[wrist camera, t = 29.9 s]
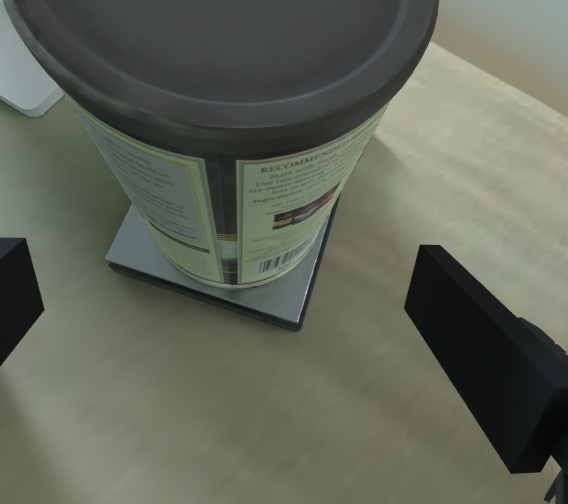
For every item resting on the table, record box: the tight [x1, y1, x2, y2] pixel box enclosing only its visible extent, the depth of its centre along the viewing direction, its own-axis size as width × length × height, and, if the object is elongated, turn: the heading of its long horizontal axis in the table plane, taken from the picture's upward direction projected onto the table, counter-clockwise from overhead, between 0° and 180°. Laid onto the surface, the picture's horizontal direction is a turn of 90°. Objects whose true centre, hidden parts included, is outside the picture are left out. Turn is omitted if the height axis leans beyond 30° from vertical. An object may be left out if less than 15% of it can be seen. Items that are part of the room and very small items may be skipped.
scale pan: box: [105, 203, 332, 324], centre depth 22 cm, size 11×11×1 cm
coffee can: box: [3, 0, 439, 289], centre depth 16 cm, size 10×10×14 cm
